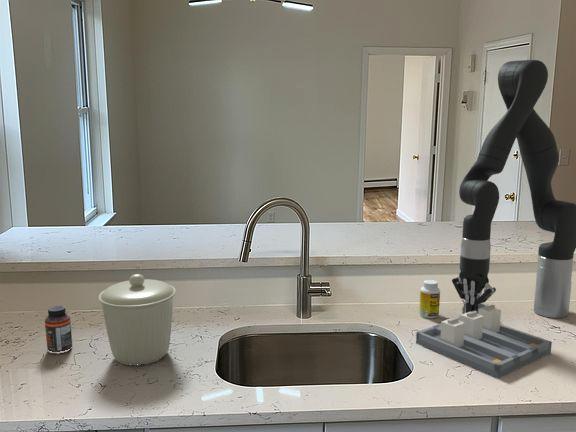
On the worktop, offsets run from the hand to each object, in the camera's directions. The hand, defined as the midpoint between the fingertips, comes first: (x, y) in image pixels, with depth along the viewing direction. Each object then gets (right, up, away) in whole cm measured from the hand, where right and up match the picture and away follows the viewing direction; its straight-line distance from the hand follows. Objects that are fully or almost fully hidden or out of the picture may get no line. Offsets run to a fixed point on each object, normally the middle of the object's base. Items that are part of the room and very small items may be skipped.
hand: (471, 316), depth 157 cm
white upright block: (+3, -3, -4) cm, 6 cm away
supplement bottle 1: (-107, -7, -10) cm, 108 cm away
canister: (-86, -8, -14) cm, 87 cm away
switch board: (-1, -6, -11) cm, 12 cm away
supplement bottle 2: (-9, -2, +12) cm, 15 cm away
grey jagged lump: (+5, -3, +10) cm, 11 cm away
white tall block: (-3, -4, -8) cm, 10 cm away
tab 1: (-9, -5, -13) cm, 16 cm away
